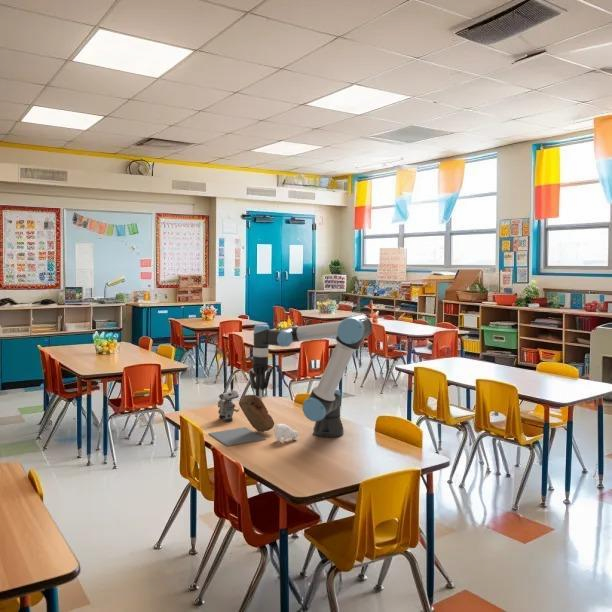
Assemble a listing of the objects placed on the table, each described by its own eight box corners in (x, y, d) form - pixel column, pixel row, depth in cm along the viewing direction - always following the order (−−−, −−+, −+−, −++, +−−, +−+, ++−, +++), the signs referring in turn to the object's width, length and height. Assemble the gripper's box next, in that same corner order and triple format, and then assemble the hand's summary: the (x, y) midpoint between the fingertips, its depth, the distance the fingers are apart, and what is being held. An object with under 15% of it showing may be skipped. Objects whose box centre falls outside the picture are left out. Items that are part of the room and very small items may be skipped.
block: (254, 432, 301) (235, 403, 293) (261, 421, 306) (243, 393, 298) (270, 433, 295) (251, 403, 286) (277, 422, 300) (259, 392, 291)
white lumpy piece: (273, 422, 286) (296, 422, 291) (271, 440, 287) (294, 439, 292) (278, 426, 280) (301, 425, 285) (276, 443, 281) (299, 443, 286)
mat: (265, 439, 288) (265, 438, 288) (227, 446, 278) (227, 445, 278) (245, 428, 307) (245, 427, 307) (208, 434, 296) (208, 433, 296)
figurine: (242, 419, 323) (242, 392, 322) (222, 422, 317) (222, 394, 316) (235, 415, 331) (235, 389, 329) (216, 418, 325) (215, 391, 323)
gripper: (268, 353, 303) (267, 399, 305) (245, 355, 296) (244, 401, 298) (275, 356, 296) (274, 402, 298) (252, 357, 289) (250, 405, 292)
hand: (259, 402), depth 298 cm, fingers closed
